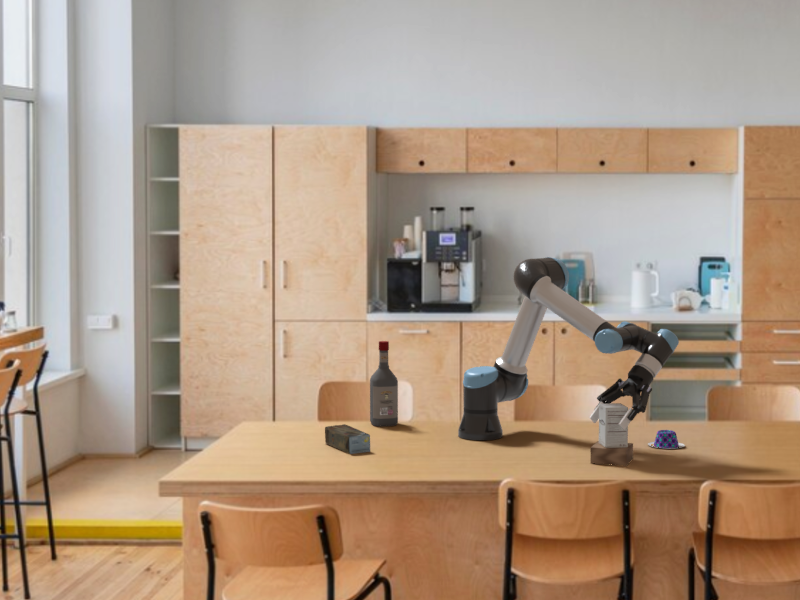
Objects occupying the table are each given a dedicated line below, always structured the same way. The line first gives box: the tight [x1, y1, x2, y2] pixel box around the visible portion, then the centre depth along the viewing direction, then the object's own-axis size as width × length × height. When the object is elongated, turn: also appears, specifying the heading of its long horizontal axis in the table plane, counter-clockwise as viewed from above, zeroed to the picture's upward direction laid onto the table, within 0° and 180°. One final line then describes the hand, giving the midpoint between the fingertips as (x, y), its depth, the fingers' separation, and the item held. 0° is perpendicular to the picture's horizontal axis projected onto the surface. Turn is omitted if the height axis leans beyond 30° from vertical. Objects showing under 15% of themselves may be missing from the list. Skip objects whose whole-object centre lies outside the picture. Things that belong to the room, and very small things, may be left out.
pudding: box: [647, 429, 686, 450], centre depth 404 cm, size 12×12×5 cm
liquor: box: [369, 340, 399, 428], centre depth 442 cm, size 9×9×30 cm
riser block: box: [590, 440, 634, 467], centre depth 380 cm, size 11×11×5 cm
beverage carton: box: [324, 424, 371, 455], centre depth 402 cm, size 8×19×7 cm, turn 28°
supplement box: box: [598, 402, 629, 448], centre depth 379 cm, size 7×7×13 cm
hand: (606, 423), depth 378 cm, fingers open, 13 cm apart
